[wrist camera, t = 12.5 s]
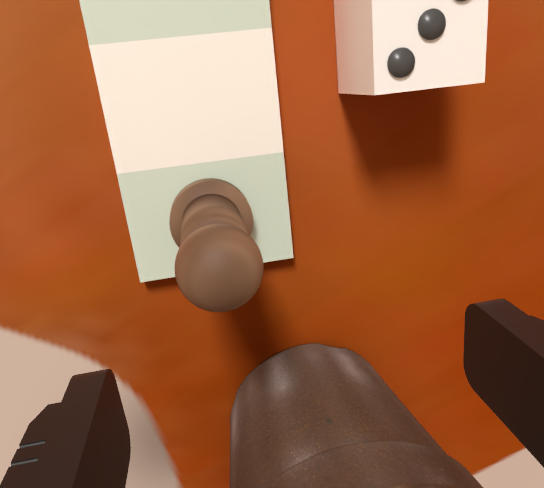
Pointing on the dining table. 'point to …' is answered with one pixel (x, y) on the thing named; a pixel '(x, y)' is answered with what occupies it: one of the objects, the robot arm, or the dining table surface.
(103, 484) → the robot arm
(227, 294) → the pawn
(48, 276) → the dining table surface
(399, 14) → the die
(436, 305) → the dining table surface
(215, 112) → the game board
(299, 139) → the dining table surface
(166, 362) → the dining table surface
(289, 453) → the plant pot
